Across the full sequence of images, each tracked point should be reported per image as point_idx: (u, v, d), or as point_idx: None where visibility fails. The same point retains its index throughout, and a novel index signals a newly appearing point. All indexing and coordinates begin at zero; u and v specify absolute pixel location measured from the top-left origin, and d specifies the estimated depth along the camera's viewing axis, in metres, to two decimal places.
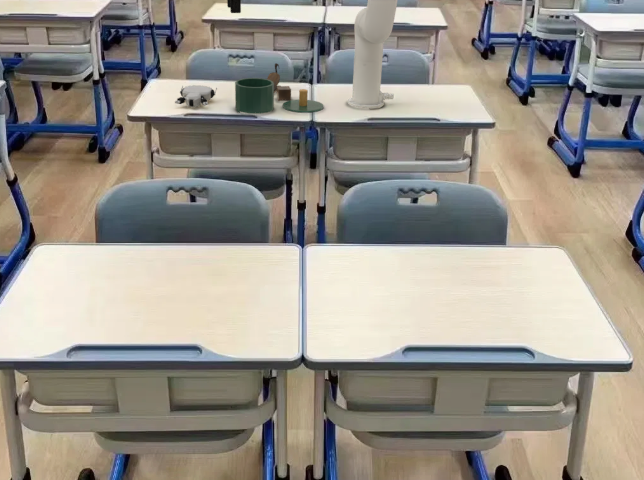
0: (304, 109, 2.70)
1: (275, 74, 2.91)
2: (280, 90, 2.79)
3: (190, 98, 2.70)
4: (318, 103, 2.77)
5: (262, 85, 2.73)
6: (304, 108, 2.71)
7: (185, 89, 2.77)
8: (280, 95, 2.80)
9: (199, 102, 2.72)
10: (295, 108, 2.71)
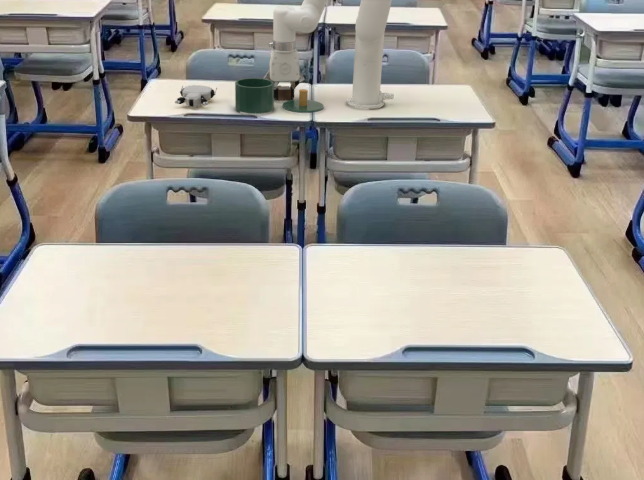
0: (304, 109, 2.70)
1: None
2: (280, 90, 2.79)
3: (190, 98, 2.70)
4: (318, 103, 2.77)
5: (262, 85, 2.73)
6: (304, 108, 2.71)
7: (185, 89, 2.77)
8: (280, 95, 2.80)
9: (199, 102, 2.72)
10: (295, 108, 2.71)
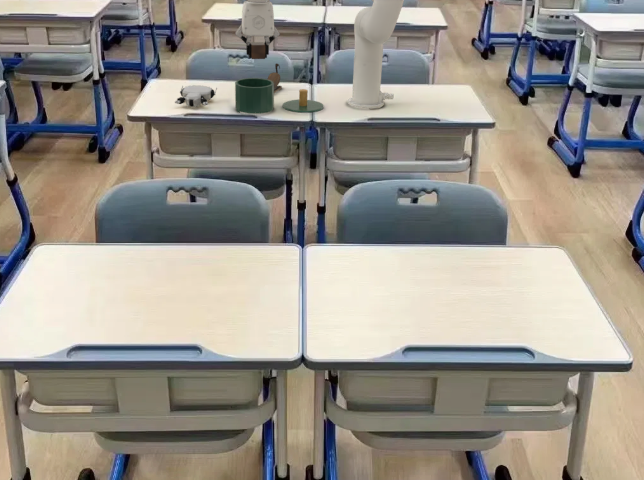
0: (304, 109, 2.70)
1: (275, 74, 2.91)
2: (253, 46, 2.61)
3: (190, 98, 2.70)
4: (318, 103, 2.77)
5: (262, 85, 2.73)
6: (304, 108, 2.71)
7: (185, 89, 2.77)
8: (253, 51, 2.62)
9: (199, 102, 2.72)
10: (295, 108, 2.71)
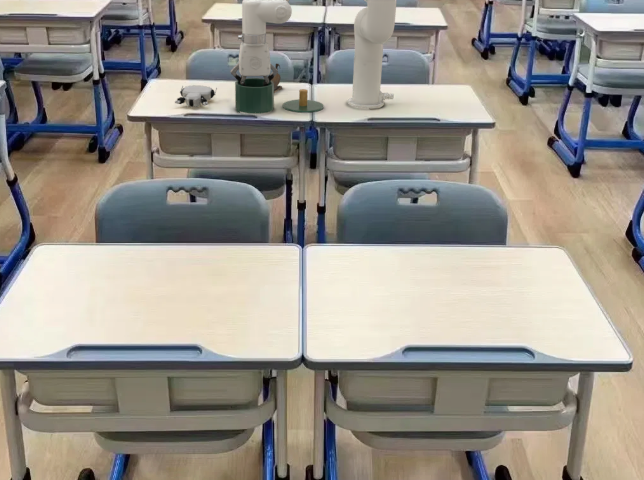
0: (304, 109, 2.70)
1: (276, 74, 2.91)
2: None
3: (190, 98, 2.70)
4: (318, 103, 2.77)
5: (262, 85, 2.73)
6: (304, 108, 2.71)
7: (185, 89, 2.77)
8: None
9: (199, 102, 2.72)
10: (295, 108, 2.71)
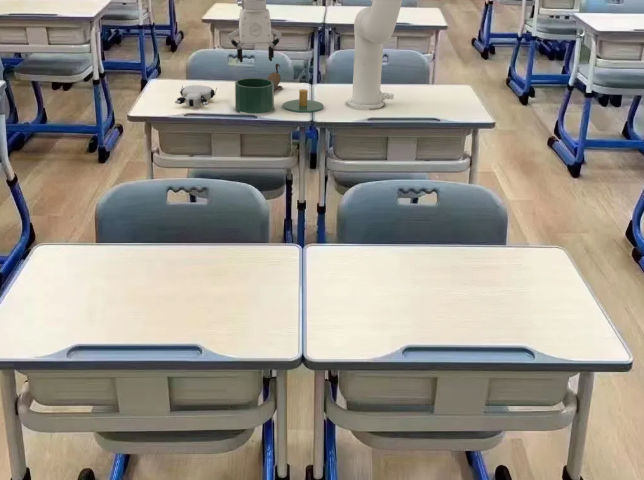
0: (304, 109, 2.70)
1: (276, 74, 2.91)
2: None
3: (190, 98, 2.70)
4: (318, 103, 2.77)
5: (262, 85, 2.73)
6: (304, 108, 2.71)
7: (185, 89, 2.77)
8: None
9: (199, 102, 2.72)
10: (295, 108, 2.71)
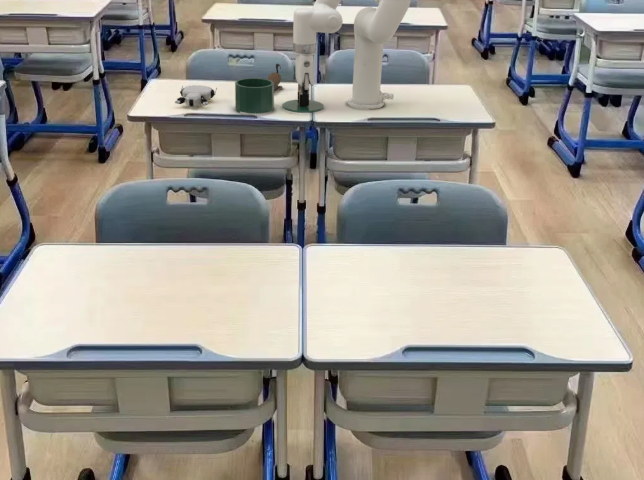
0: (304, 109, 2.70)
1: (276, 74, 2.91)
2: None
3: (190, 98, 2.70)
4: (318, 103, 2.77)
5: (262, 85, 2.73)
6: (304, 108, 2.71)
7: (185, 89, 2.77)
8: None
9: (199, 102, 2.72)
10: (295, 108, 2.71)
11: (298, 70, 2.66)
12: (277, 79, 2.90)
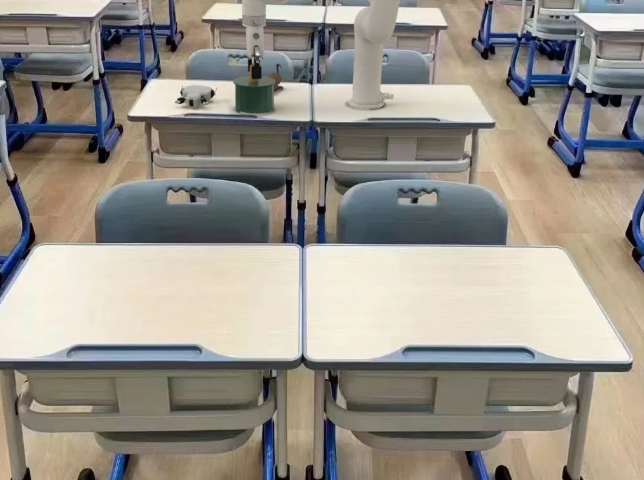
0: (254, 85, 2.63)
1: (276, 74, 2.91)
2: None
3: (190, 98, 2.70)
4: (270, 79, 2.69)
5: None
6: (254, 83, 2.64)
7: (185, 89, 2.77)
8: None
9: (199, 102, 2.72)
10: (245, 84, 2.64)
11: (248, 43, 2.58)
12: (277, 79, 2.90)
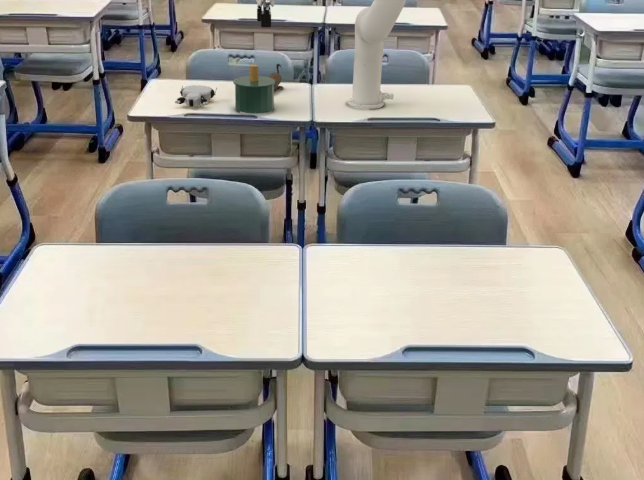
0: (254, 85, 2.63)
1: (276, 74, 2.91)
2: None
3: (190, 98, 2.70)
4: (270, 79, 2.69)
5: None
6: (254, 83, 2.64)
7: (185, 89, 2.77)
8: None
9: (199, 102, 2.72)
10: (245, 84, 2.64)
11: None
12: (277, 79, 2.90)
